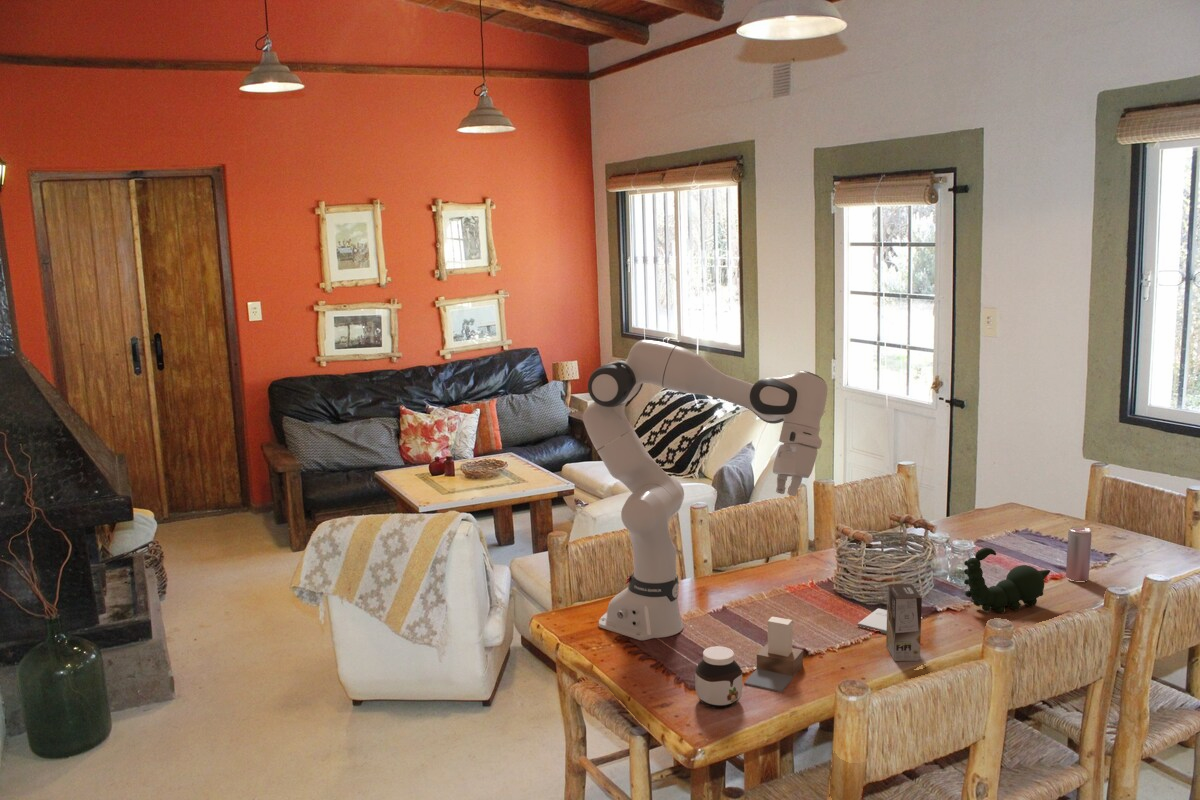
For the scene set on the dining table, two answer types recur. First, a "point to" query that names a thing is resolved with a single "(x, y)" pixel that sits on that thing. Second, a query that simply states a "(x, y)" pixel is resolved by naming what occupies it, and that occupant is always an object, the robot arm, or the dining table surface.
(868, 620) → the external hard drive
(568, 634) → the dining table surface
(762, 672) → the mat
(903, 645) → the coffee box
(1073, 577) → the beverage can
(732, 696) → the spread jar
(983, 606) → the toy figurine
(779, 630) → the block
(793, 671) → the deck
